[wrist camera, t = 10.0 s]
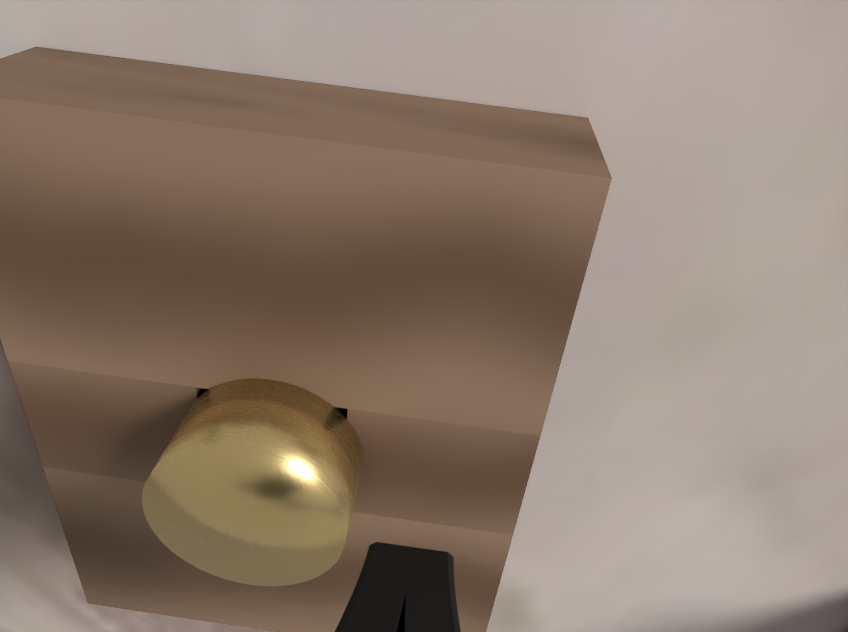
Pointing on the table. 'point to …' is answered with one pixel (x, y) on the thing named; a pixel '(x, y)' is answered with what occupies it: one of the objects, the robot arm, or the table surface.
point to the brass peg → (257, 484)
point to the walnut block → (285, 303)
